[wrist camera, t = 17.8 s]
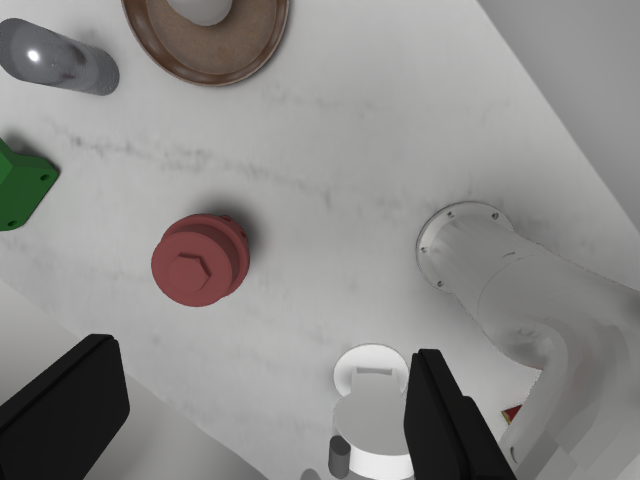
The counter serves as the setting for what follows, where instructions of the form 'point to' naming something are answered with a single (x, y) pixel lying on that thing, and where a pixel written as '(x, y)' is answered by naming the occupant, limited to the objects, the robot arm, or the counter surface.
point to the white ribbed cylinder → (202, 10)
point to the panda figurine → (370, 415)
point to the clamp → (21, 186)
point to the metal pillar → (55, 59)
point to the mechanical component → (201, 259)
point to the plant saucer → (208, 39)
